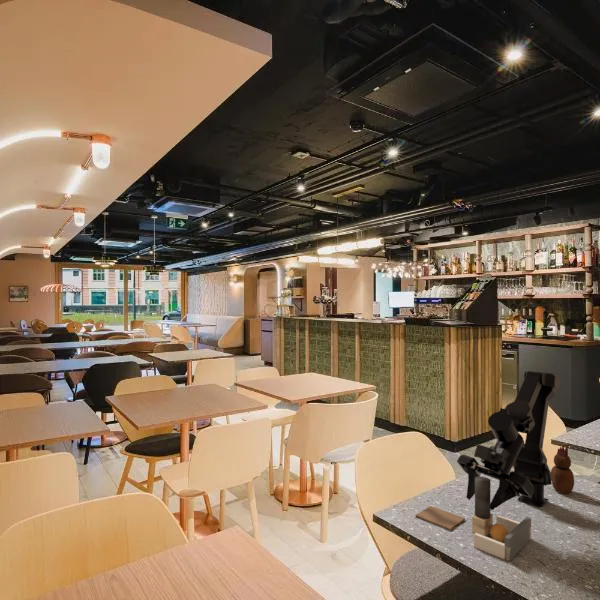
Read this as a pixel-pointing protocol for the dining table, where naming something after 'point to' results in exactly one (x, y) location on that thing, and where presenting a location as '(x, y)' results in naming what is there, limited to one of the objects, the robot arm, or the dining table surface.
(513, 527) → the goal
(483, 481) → the ball
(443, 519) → the brown rectangular plate
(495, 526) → the ball
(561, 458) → the wooden figurine
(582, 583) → the dining table surface
